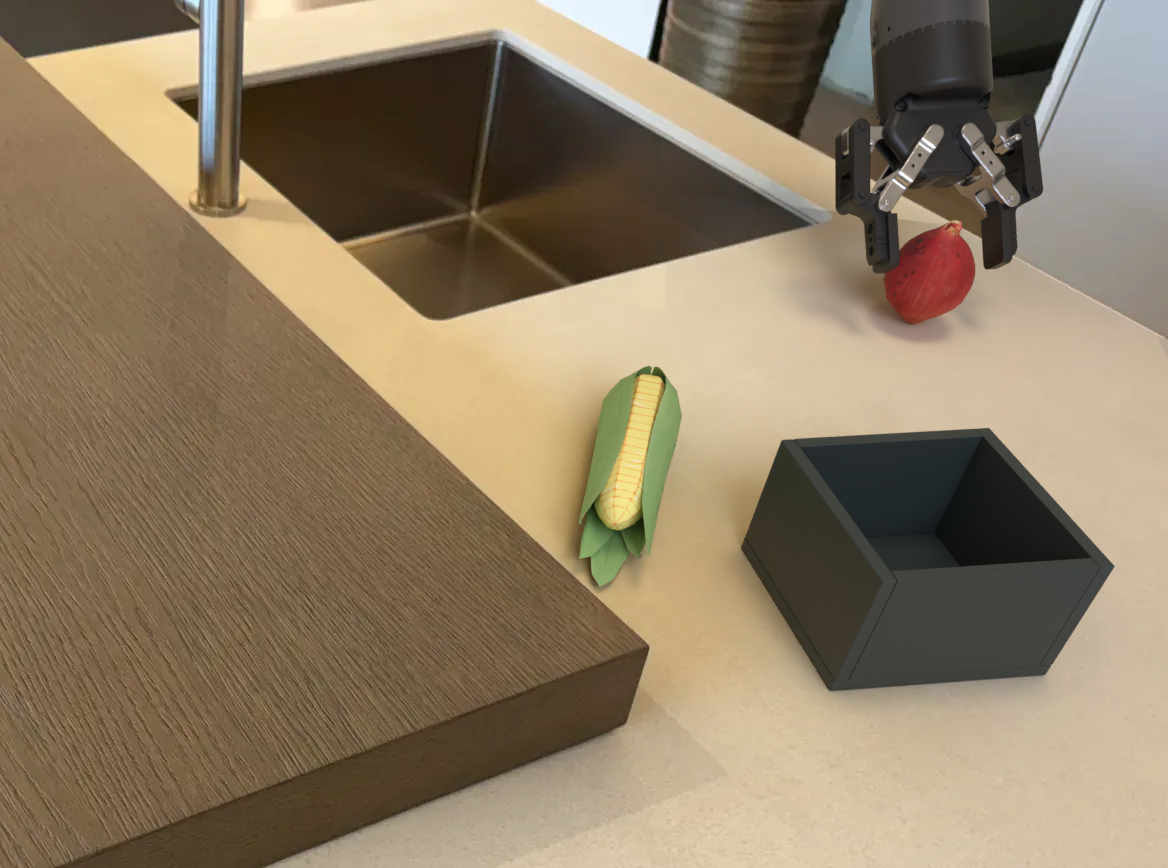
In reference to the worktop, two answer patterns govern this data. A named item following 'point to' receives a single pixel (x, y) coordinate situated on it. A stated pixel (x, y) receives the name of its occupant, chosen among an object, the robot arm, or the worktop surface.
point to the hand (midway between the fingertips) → (942, 268)
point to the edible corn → (628, 470)
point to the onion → (931, 274)
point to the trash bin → (920, 558)
